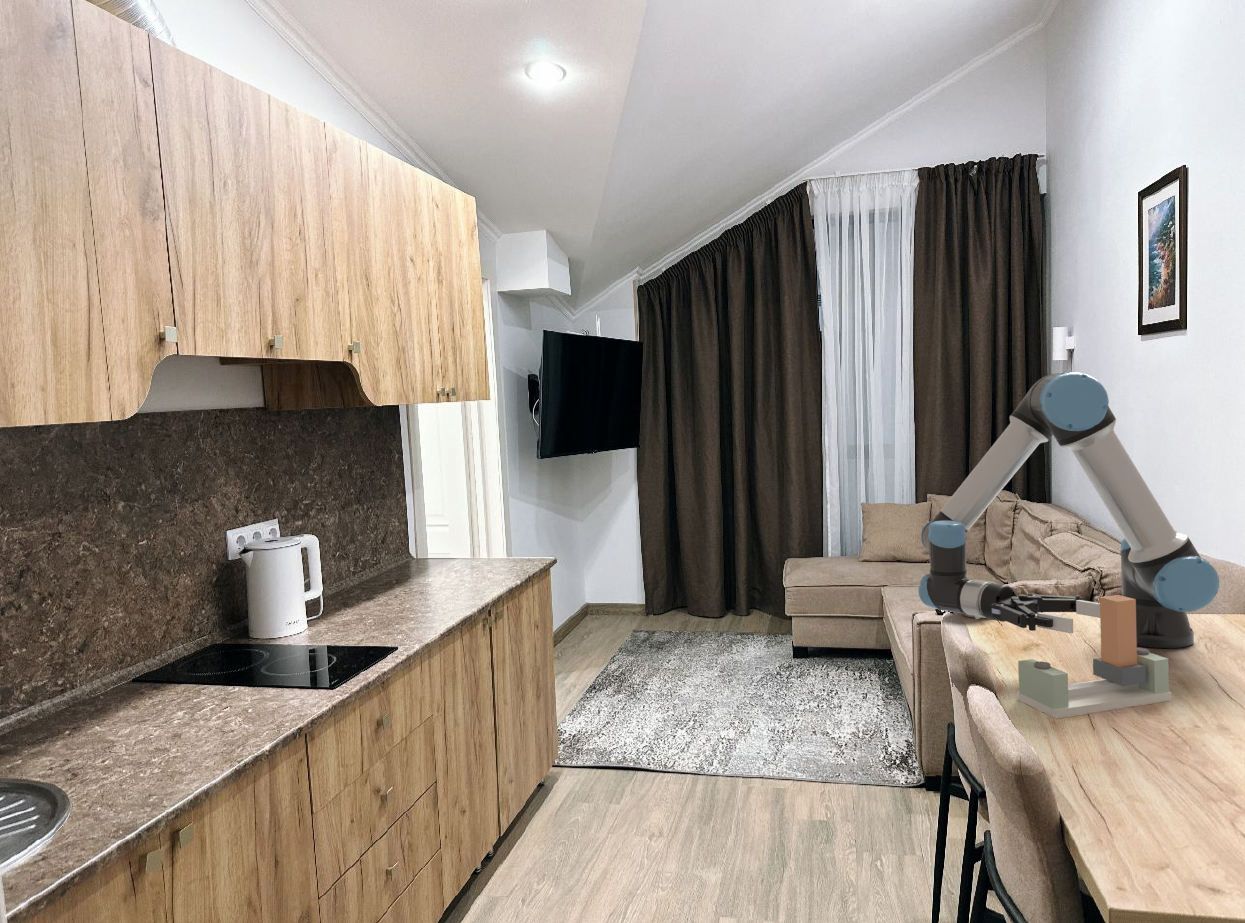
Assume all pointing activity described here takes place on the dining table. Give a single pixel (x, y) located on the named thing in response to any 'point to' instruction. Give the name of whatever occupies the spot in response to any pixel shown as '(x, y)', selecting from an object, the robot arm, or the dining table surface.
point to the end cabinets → (1053, 683)
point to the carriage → (1118, 642)
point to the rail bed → (1099, 698)
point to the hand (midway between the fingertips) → (1092, 619)
